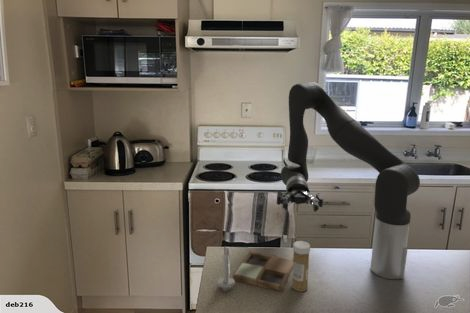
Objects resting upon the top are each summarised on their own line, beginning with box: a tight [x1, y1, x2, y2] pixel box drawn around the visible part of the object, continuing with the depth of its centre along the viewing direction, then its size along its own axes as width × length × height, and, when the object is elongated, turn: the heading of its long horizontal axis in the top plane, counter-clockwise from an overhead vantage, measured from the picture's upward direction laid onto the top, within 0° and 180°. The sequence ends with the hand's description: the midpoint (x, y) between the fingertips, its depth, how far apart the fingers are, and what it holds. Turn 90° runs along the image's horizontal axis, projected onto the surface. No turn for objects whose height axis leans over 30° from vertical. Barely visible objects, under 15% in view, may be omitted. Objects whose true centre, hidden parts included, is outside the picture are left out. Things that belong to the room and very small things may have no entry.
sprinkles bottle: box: [291, 240, 311, 292], centre depth 95 cm, size 5×5×14 cm
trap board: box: [232, 251, 293, 293], centre depth 104 cm, size 15×15×2 cm
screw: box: [217, 246, 236, 292], centre depth 95 cm, size 13×5×5 cm
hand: (301, 207), depth 101 cm, fingers open, 8 cm apart
